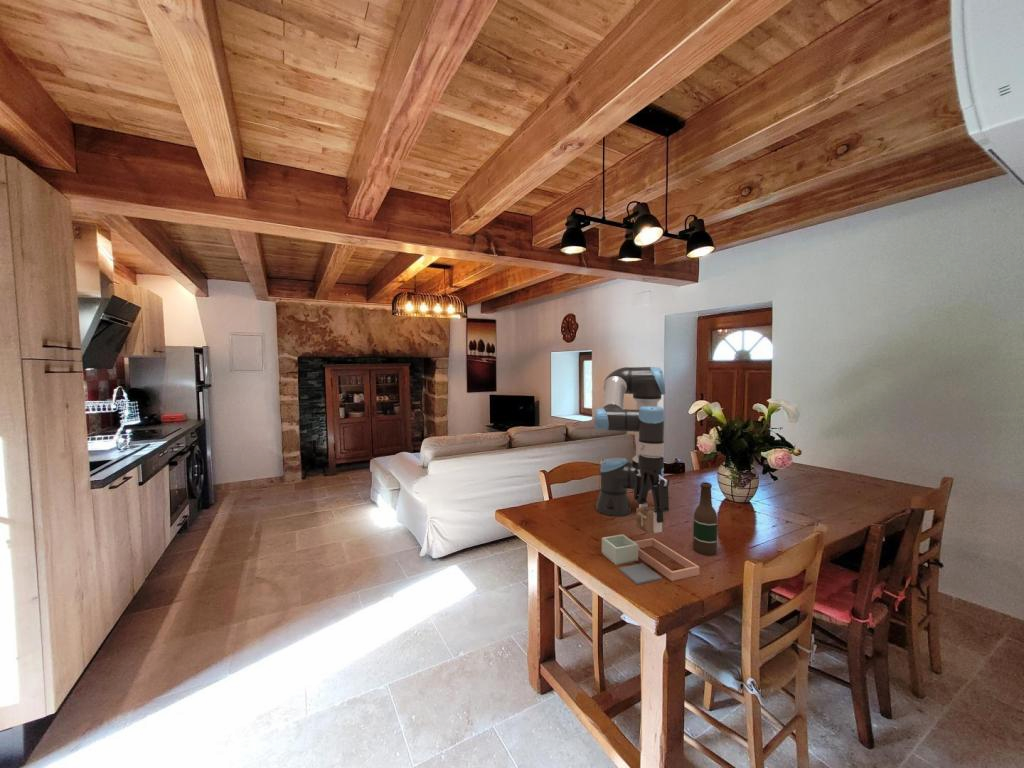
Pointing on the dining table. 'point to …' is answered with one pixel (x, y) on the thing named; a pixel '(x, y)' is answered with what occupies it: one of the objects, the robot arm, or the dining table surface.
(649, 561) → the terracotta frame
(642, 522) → the letter cube
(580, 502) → the dining table surface
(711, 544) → the beer bottle
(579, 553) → the dining table surface
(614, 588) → the dining table surface
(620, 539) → the mint green open box
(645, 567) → the slate coaster
